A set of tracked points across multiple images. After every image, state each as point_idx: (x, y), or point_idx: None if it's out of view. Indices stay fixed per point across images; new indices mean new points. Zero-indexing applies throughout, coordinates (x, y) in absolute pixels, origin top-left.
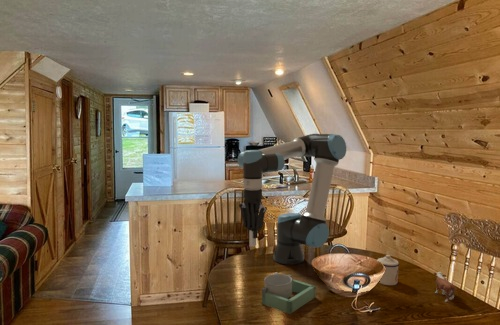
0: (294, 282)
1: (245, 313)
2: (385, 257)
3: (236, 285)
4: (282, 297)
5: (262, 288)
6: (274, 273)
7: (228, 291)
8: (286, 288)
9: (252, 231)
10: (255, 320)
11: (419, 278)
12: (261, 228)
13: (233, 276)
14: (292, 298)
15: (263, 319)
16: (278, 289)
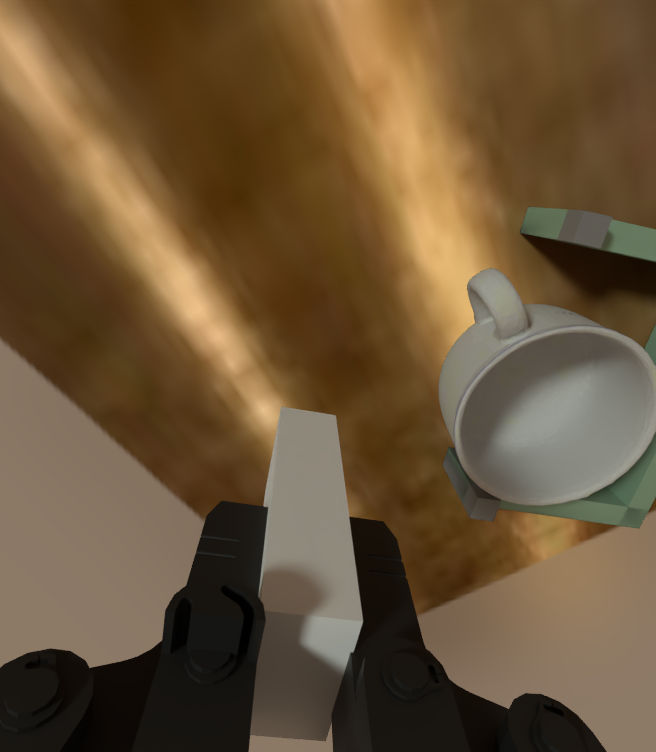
0: (617, 252)
1: (408, 569)
2: None
3: (196, 337)
4: (589, 504)
5: (472, 518)
6: (492, 316)
7: (207, 430)
8: (612, 449)
9: (326, 714)
10: (471, 592)
11: None
12: (575, 719)
13: (77, 208)
14: (645, 488)
15: (499, 572)
16: (565, 479)
